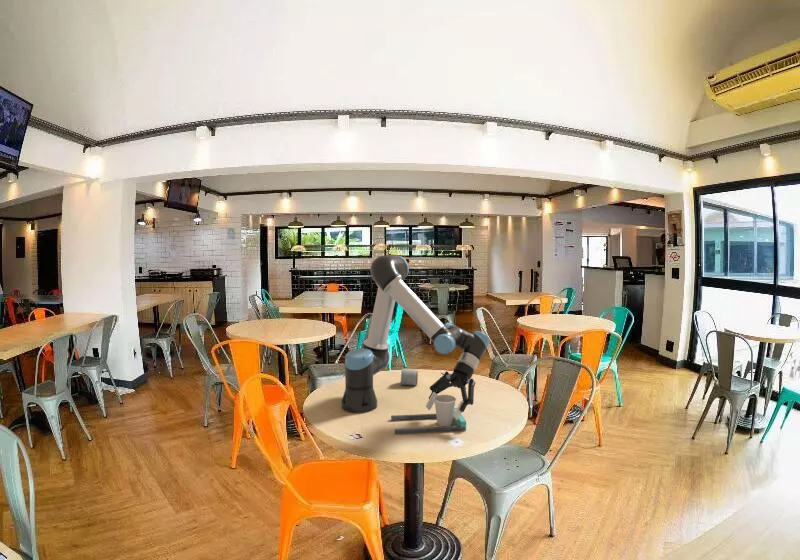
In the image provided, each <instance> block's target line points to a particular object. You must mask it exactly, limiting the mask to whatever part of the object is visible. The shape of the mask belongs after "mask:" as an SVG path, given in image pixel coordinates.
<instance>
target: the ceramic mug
mask: <svg viewBox="0 0 800 560" xmlns="http://www.w3.org/2000/svg"><path fill="white" fill-rule="evenodd" d="M418 380H419V370H415V369H409V368H408V369H407V368H401V375H400V385H401V386H417V385H418V382H419V381H418Z"/></svg>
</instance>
